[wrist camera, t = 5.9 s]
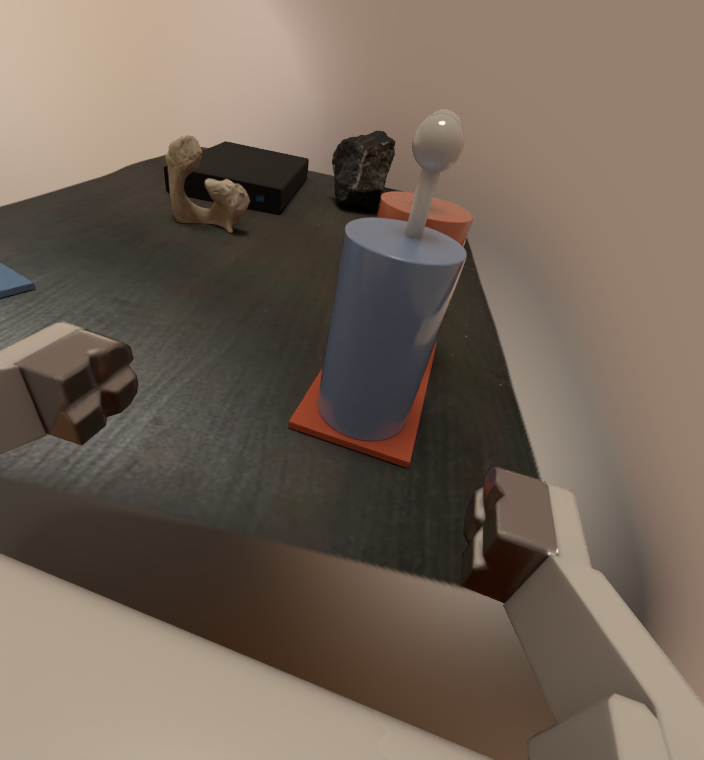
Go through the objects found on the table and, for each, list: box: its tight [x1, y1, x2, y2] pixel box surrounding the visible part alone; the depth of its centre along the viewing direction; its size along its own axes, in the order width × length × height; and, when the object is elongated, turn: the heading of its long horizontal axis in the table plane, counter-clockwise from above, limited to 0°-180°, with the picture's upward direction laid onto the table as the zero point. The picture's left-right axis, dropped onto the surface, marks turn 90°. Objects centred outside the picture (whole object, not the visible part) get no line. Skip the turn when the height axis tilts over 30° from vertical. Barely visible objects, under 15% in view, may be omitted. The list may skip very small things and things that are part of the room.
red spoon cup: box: [377, 109, 473, 246], centre depth 24 cm, size 5×5×15 cm
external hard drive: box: [164, 142, 309, 214], centre depth 58 cm, size 14×23×3 cm, turn 177°
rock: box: [332, 131, 395, 210], centre depth 56 cm, size 8×7×10 cm
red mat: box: [288, 343, 436, 468], centre depth 26 cm, size 13×7×1 cm, turn 164°
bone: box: [166, 136, 250, 233], centre depth 41 cm, size 9×6×10 cm
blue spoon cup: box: [317, 113, 466, 441], centre depth 19 cm, size 5×5×15 cm
